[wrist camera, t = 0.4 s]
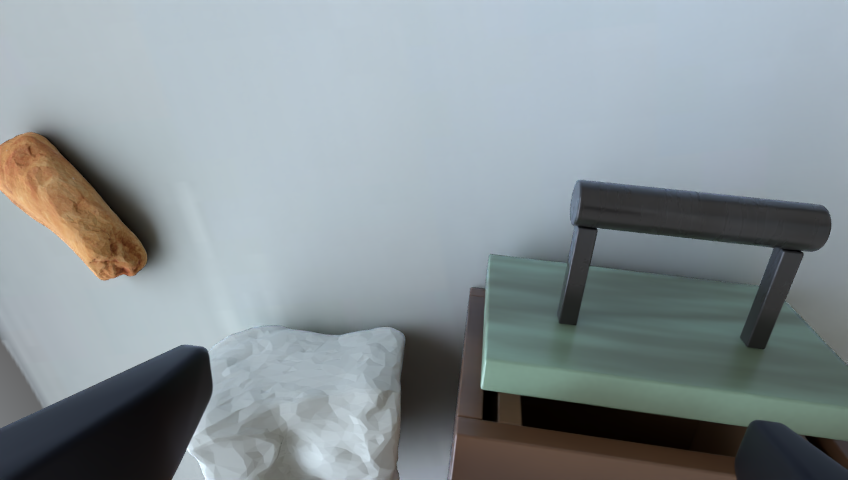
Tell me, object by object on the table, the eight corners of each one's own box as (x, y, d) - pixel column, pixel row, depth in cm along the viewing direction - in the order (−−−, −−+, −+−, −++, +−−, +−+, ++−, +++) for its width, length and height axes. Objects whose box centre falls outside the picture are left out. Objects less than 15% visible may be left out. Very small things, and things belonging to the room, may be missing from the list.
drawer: (504, 138, 20) (506, 204, 14) (819, 169, 19) (987, 256, 13) (458, 482, 28) (445, 631, 21) (681, 517, 27) (741, 685, 20)
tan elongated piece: (89, 113, 23) (14, 140, 25) (43, 121, 21) (-35, 150, 23) (160, 267, 26) (87, 282, 27) (125, 287, 24) (48, 303, 25)
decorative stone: (267, 502, 29) (111, 568, 20) (268, 336, 32) (127, 326, 22) (455, 504, 26) (372, 583, 17) (441, 318, 28) (361, 298, 19)
